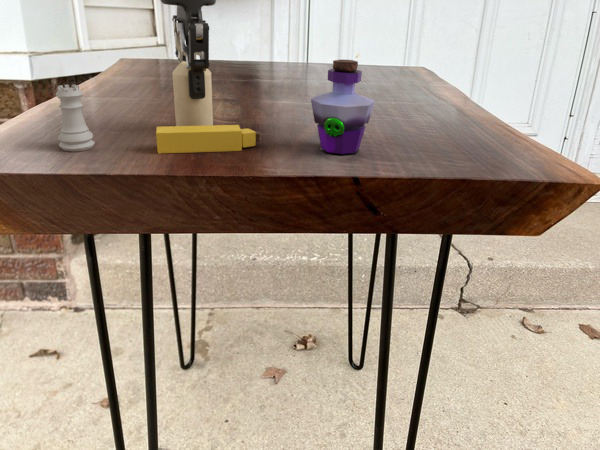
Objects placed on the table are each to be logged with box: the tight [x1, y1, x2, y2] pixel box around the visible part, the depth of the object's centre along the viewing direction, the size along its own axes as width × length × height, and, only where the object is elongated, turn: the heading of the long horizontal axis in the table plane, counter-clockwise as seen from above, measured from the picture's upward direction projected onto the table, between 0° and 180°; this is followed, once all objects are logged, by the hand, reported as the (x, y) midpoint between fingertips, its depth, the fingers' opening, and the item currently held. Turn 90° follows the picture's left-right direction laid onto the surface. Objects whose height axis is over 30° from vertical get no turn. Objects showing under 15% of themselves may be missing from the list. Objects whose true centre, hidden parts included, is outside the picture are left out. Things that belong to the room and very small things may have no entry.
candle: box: [172, 61, 214, 126], centre depth 78 cm, size 6×6×10 cm
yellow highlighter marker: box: [155, 124, 260, 155], centre depth 71 cm, size 14×4×3 cm, turn 102°
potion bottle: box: [310, 59, 376, 157], centre depth 71 cm, size 9×9×12 cm
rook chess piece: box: [55, 84, 96, 153], centre depth 68 cm, size 4×4×8 cm
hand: (193, 93), depth 77 cm, fingers closed on candle, 5 cm apart
